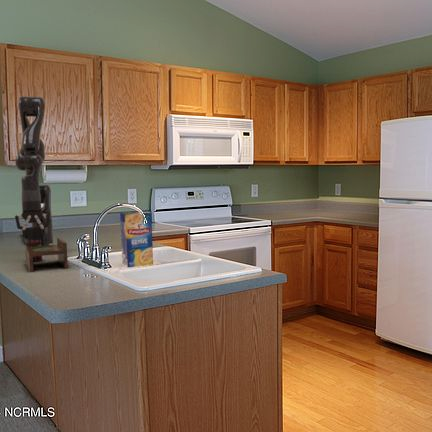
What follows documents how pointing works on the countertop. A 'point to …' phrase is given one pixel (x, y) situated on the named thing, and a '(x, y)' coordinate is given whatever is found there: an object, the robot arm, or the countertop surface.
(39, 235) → the deodorant
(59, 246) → the shelf
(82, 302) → the countertop surface
